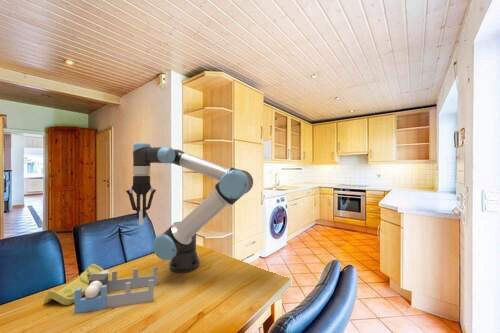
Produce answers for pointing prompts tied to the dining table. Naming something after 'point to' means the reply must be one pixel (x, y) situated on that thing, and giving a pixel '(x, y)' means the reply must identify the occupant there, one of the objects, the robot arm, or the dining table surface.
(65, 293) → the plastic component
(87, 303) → the blue peg rack
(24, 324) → the dining table surface
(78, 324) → the dining table surface
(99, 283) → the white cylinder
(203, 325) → the dining table surface
